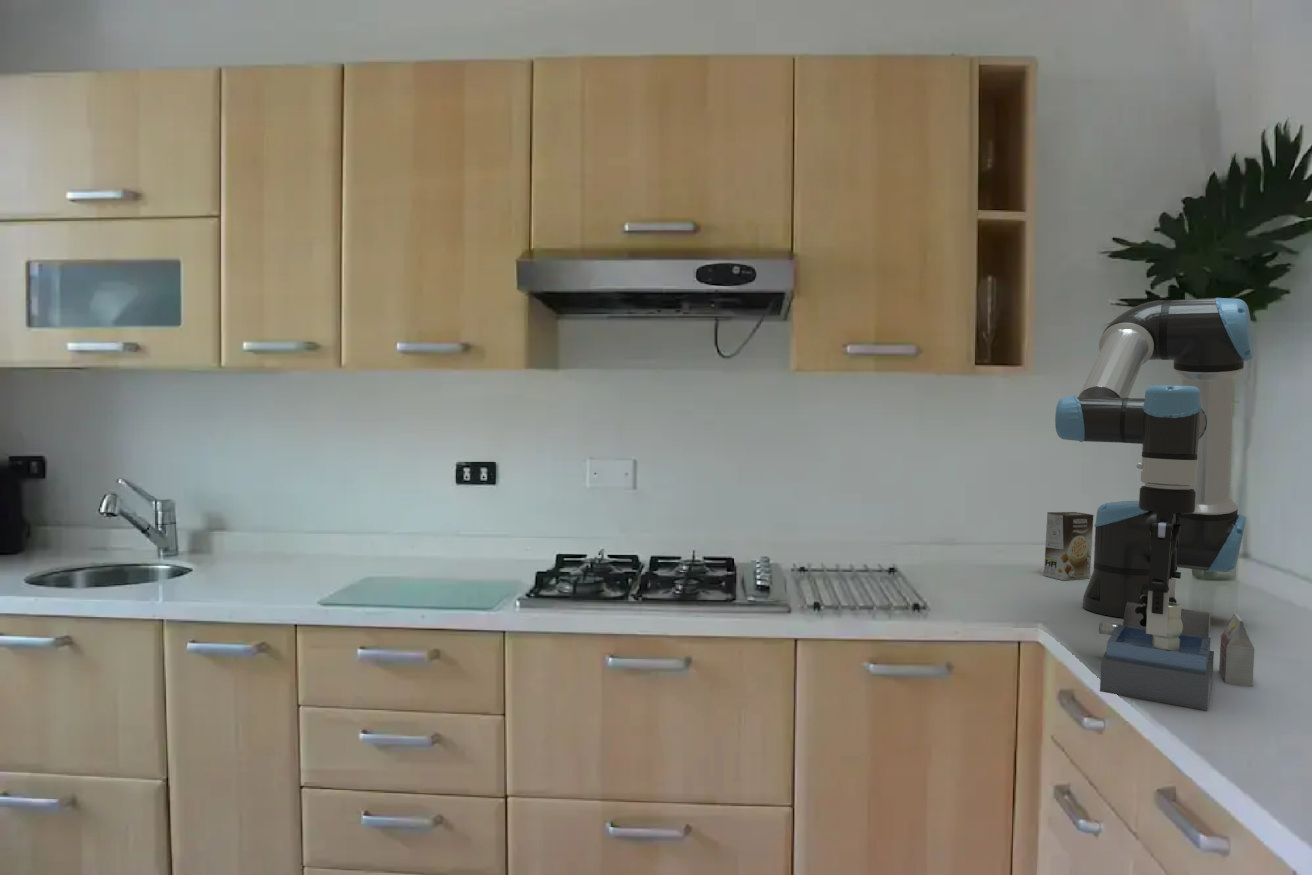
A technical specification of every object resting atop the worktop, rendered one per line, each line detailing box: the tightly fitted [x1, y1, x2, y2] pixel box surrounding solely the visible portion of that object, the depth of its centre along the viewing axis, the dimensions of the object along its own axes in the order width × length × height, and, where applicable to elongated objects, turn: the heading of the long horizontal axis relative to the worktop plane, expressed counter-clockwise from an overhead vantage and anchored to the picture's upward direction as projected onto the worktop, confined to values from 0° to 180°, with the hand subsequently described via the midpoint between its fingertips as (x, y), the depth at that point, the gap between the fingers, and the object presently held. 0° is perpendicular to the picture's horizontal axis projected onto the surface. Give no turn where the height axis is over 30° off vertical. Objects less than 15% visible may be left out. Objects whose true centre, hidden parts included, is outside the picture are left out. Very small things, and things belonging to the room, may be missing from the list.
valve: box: [1134, 594, 1183, 650], centre depth 141 cm, size 7×7×12 cm
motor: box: [1098, 602, 1215, 711], centre depth 147 cm, size 26×17×10 cm, turn 147°
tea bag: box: [1218, 612, 1255, 687], centre depth 148 cm, size 4×7×10 cm, turn 155°
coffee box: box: [1043, 511, 1095, 581], centre depth 229 cm, size 9×6×16 cm
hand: (1160, 626), depth 142 cm, fingers closed on valve, 12 cm apart
